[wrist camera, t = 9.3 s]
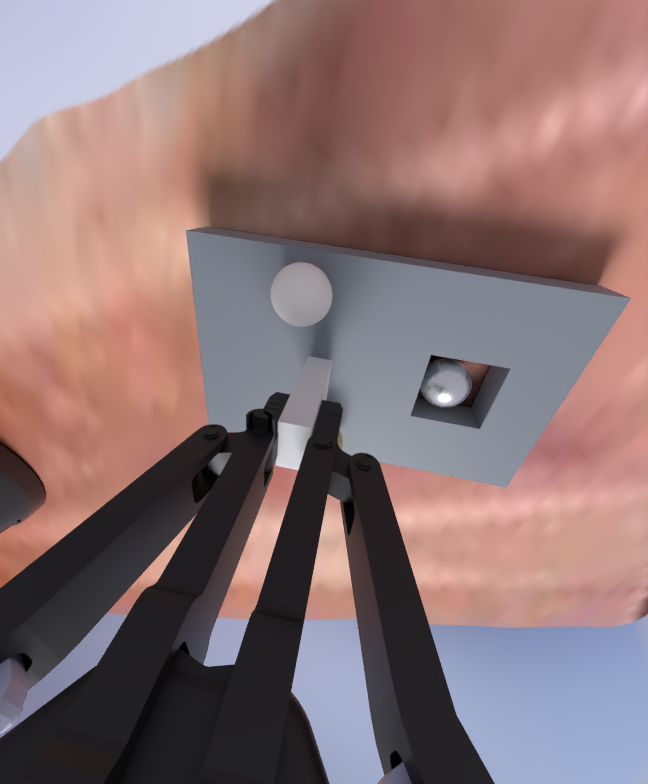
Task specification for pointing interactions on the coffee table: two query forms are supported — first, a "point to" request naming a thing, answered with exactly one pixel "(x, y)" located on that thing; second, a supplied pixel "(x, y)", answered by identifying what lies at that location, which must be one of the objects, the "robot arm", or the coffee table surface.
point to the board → (397, 347)
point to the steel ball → (446, 382)
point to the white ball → (301, 294)
